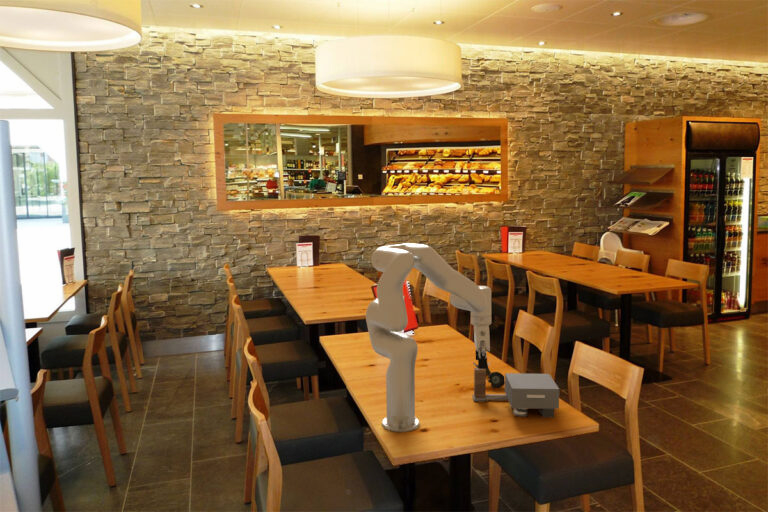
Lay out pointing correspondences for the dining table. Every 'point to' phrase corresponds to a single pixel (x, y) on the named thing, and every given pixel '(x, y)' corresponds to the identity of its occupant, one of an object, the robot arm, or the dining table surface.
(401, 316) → the robot arm
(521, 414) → the steel puck
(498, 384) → the artificial flower
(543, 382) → the charcoal cabinet
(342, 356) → the dining table surface
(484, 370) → the scraper
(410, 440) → the dining table surface
